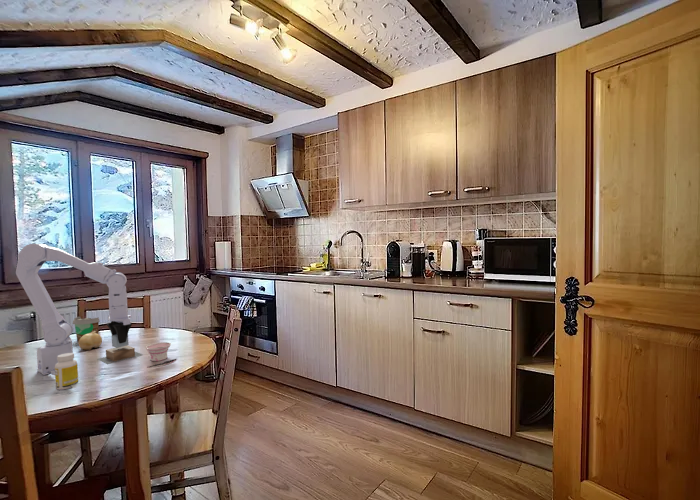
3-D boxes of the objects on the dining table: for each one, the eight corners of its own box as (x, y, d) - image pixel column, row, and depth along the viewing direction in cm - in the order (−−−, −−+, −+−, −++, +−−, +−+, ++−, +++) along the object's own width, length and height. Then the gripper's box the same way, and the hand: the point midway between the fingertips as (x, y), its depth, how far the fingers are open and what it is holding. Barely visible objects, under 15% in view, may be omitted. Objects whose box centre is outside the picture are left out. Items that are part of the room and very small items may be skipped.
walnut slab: (113, 361, 129) (113, 353, 129) (106, 357, 133) (105, 349, 133) (134, 355, 135) (134, 348, 135) (126, 352, 139) (126, 345, 139)
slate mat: (107, 367, 126) (107, 364, 126) (96, 361, 132) (96, 359, 132) (143, 357, 136) (143, 354, 136) (132, 352, 142) (132, 350, 142)
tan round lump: (100, 349, 147) (99, 332, 147) (76, 352, 144) (75, 335, 144) (103, 344, 155) (103, 328, 154) (81, 347, 151) (80, 330, 151)
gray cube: (116, 347, 131) (116, 337, 131) (112, 346, 134) (111, 335, 133) (128, 345, 134) (128, 334, 134) (123, 343, 137) (123, 333, 137)
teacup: (184, 358, 135) (183, 341, 134) (159, 369, 123) (158, 351, 123) (157, 356, 138) (157, 340, 138) (131, 367, 126) (130, 349, 126)
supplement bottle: (82, 382, 112) (81, 351, 112) (69, 390, 107) (68, 357, 107) (64, 383, 112) (63, 352, 112) (51, 390, 107) (49, 358, 107)
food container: (66, 341, 161) (65, 319, 161) (80, 337, 167) (79, 316, 167) (87, 343, 158) (86, 320, 157) (100, 339, 164) (99, 317, 163)
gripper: (138, 305, 132) (140, 342, 133) (121, 302, 141) (123, 336, 141) (117, 308, 127) (119, 346, 127) (101, 304, 135) (102, 340, 136)
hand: (119, 341), depth 134 cm, fingers closed on gray cube, 4 cm apart
